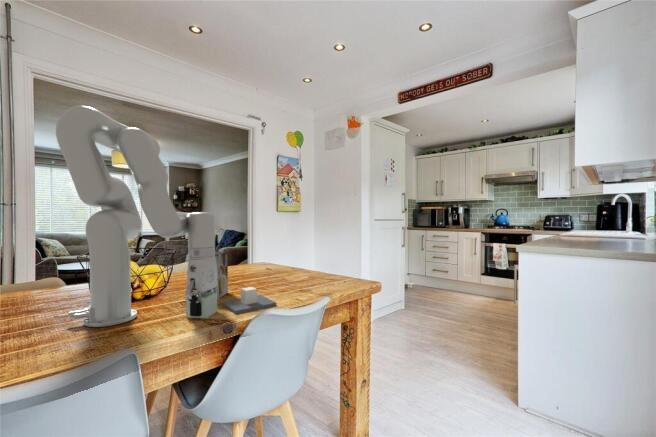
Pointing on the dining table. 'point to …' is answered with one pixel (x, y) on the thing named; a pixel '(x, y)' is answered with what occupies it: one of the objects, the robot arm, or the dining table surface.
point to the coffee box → (221, 273)
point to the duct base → (248, 307)
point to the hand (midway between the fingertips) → (202, 311)
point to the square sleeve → (204, 305)
